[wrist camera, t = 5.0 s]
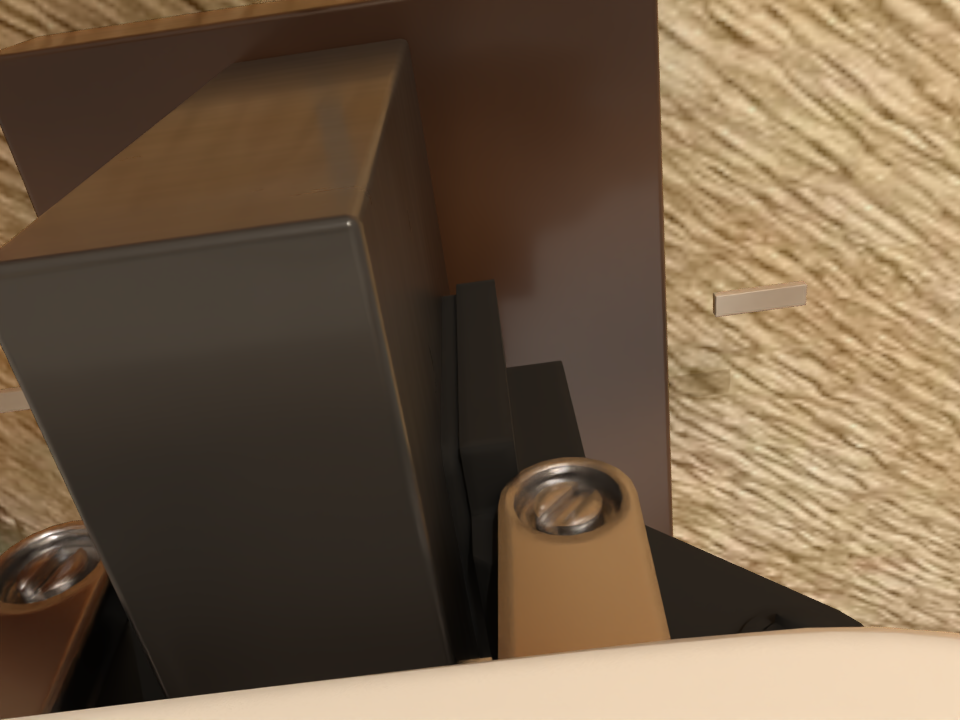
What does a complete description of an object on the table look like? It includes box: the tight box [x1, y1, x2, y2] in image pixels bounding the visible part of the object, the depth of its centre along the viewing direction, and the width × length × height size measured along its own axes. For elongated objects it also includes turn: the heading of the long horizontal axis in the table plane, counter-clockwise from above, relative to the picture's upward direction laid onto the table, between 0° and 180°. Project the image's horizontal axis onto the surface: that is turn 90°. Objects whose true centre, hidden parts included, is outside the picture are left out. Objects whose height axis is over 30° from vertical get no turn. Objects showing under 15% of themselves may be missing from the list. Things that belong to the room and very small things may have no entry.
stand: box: [0, 0, 807, 537], centre depth 14 cm, size 13×13×2 cm
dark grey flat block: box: [0, 39, 492, 699], centre depth 10 cm, size 9×2×7 cm, turn 8°
